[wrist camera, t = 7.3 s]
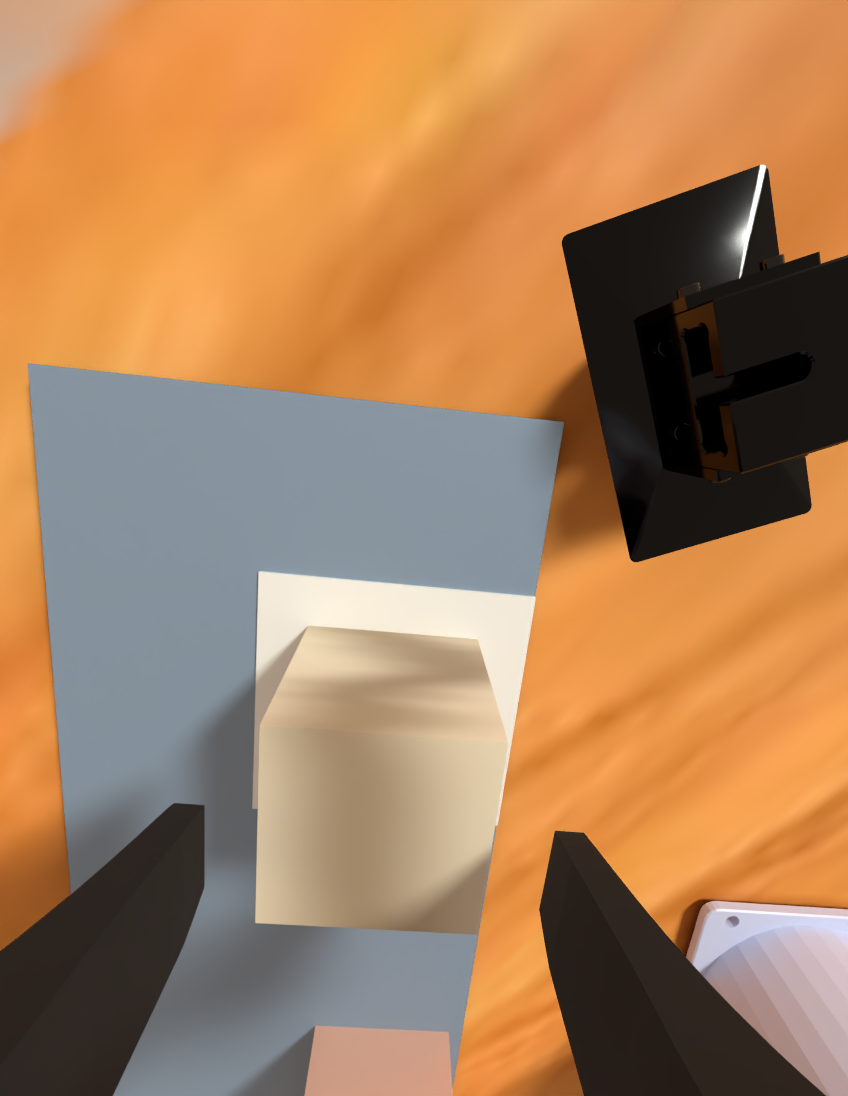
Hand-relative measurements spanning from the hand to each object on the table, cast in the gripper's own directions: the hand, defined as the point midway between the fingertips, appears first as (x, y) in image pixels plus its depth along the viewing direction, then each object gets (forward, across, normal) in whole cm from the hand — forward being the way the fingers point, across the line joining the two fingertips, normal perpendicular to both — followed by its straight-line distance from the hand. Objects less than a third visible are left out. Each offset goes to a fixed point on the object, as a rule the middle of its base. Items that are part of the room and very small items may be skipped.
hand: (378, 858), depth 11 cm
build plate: (+7, -8, -11) cm, 15 cm away
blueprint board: (+6, +3, +6) cm, 9 cm away
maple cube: (+6, 0, 0) cm, 6 cm away
